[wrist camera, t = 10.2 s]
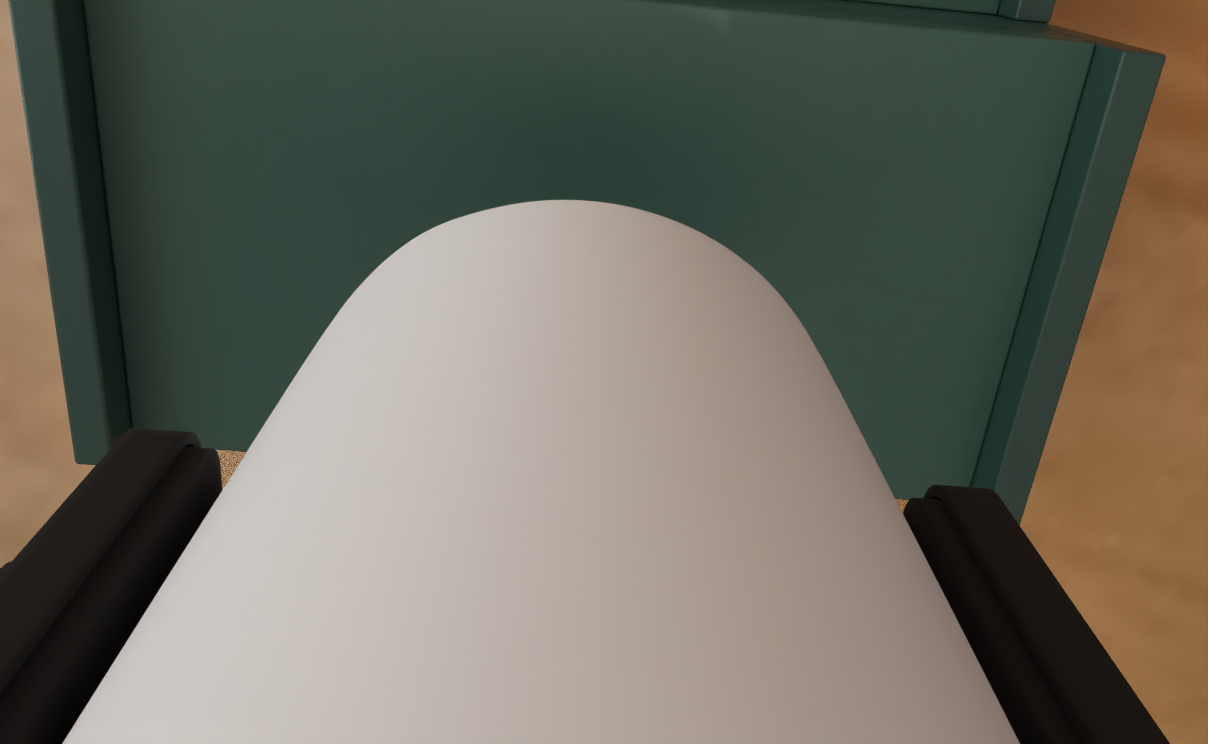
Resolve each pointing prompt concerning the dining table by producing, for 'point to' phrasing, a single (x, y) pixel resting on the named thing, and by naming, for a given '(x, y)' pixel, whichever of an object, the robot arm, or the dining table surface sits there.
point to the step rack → (583, 186)
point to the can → (553, 522)
